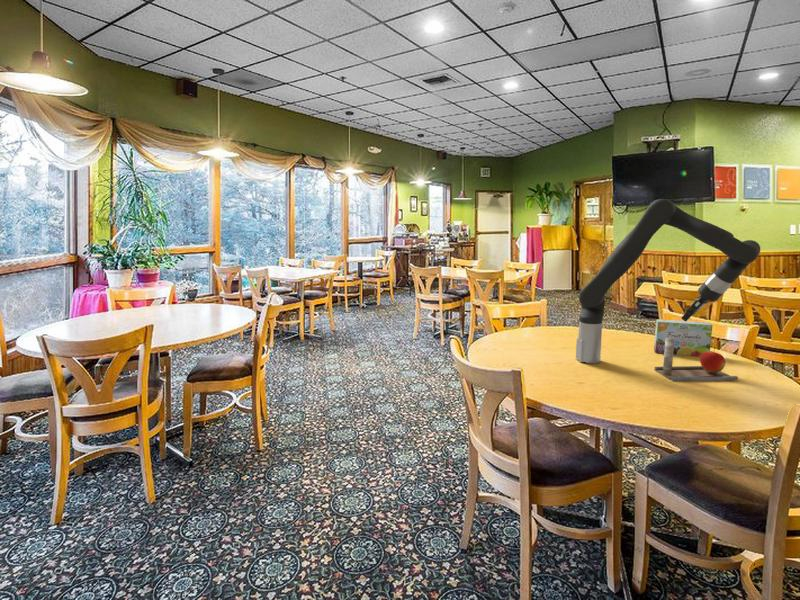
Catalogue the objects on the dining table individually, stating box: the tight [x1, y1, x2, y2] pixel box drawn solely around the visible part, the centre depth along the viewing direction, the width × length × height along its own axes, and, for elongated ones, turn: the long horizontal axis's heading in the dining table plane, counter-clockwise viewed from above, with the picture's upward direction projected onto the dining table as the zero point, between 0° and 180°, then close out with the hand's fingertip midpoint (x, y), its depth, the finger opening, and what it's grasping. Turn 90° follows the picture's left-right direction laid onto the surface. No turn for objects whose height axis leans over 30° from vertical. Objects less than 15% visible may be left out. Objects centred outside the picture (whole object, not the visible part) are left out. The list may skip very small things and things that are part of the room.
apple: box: [699, 347, 726, 373], centre depth 182 cm, size 8×8×10 cm
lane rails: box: [654, 365, 739, 382], centre depth 183 cm, size 24×14×2 cm, turn 89°
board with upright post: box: [655, 338, 731, 381], centre depth 181 cm, size 24×10×15 cm, turn 89°
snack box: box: [653, 318, 713, 358], centre depth 211 cm, size 21×6×15 cm, turn 68°
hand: (687, 316), depth 187 cm, fingers open, 8 cm apart
